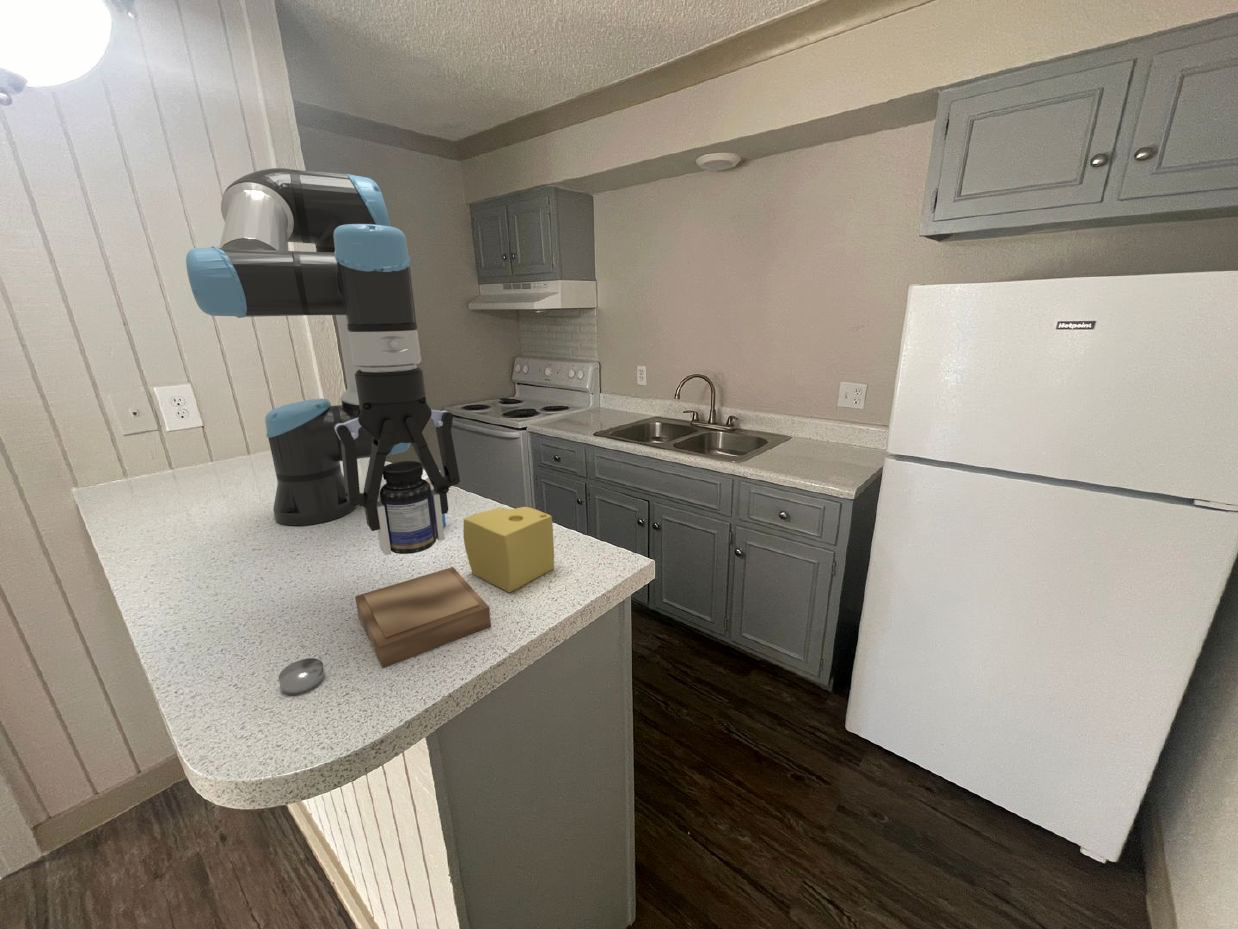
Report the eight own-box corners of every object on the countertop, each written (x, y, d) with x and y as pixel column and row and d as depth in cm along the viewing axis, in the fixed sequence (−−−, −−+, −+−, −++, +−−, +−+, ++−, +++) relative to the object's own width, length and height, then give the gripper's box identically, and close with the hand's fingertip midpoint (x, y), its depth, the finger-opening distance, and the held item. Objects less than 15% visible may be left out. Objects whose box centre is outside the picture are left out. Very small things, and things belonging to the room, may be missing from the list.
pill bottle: (398, 535, 71) (387, 459, 68) (443, 534, 71) (434, 458, 68) (380, 556, 65) (367, 473, 62) (428, 555, 66) (418, 473, 62)
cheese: (516, 551, 92) (512, 499, 89) (558, 570, 85) (556, 514, 82) (466, 574, 84) (460, 518, 81) (508, 596, 78) (504, 536, 75)
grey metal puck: (280, 680, 61) (277, 668, 60) (322, 665, 63) (319, 653, 63) (283, 702, 57) (280, 689, 57) (328, 686, 60) (325, 673, 59)
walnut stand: (358, 614, 73) (354, 594, 72) (454, 583, 81) (452, 565, 80) (382, 667, 63) (378, 644, 62) (490, 626, 71) (489, 605, 70)
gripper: (300, 377, 53) (337, 577, 60) (477, 364, 64) (492, 534, 71) (292, 370, 59) (327, 553, 66) (456, 359, 70) (471, 517, 77)
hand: (412, 543), depth 68 cm, fingers closed on pill bottle, 6 cm apart
